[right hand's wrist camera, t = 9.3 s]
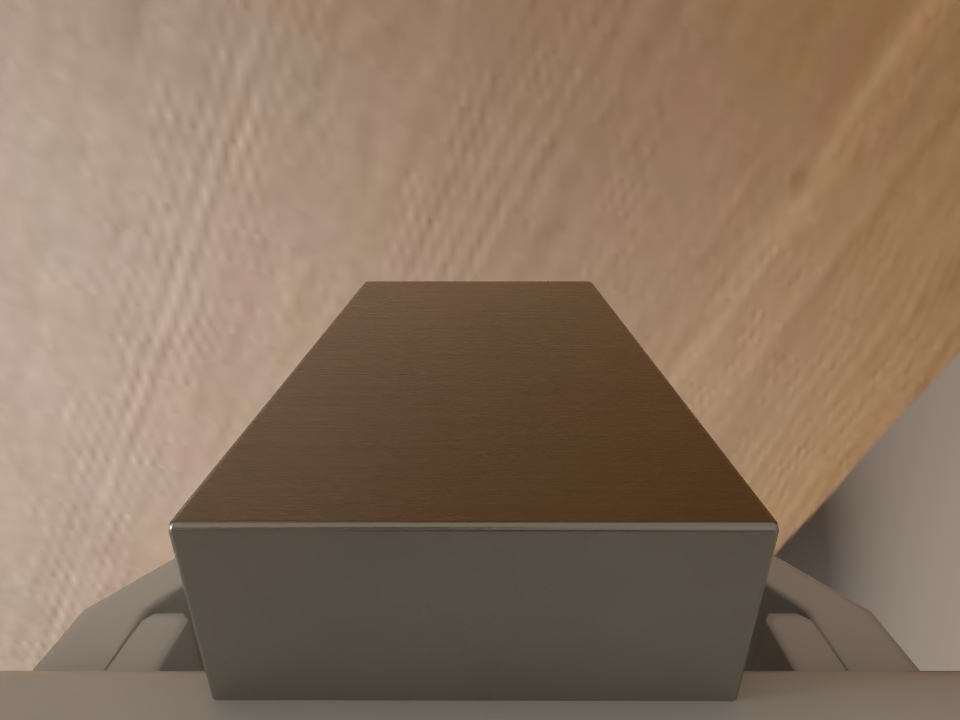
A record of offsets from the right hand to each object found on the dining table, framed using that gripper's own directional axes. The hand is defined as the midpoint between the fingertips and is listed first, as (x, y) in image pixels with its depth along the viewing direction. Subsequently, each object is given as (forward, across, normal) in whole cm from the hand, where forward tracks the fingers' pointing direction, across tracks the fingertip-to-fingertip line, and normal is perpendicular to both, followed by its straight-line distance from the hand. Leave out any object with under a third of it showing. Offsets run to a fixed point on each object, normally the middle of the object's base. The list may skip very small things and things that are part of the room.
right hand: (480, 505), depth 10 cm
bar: (+3, 0, -8) cm, 8 cm away
